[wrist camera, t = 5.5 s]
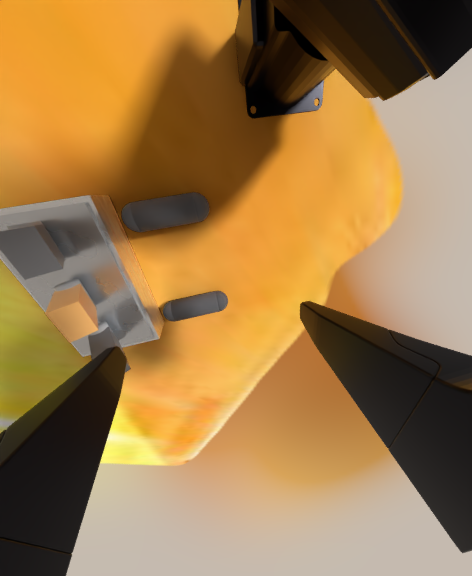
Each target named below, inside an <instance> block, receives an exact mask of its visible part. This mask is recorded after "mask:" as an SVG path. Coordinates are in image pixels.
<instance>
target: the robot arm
mask: <svg viewBox="0 0 472 576" xmlns="http://www.w3.org/2000/svg"><path fill="white" fill-rule="evenodd" d="M238 5H239V15H238V20H237V25H236V29H235V37H236V48H237V59H238V70H239V80H240V83H241V84H242V85H245V90H246V102H247V112H248V115H249V117H251V118H260V117H268V116H276V115H284V114H292V113H300V112H308V111H316V110H318V109H319V108H320V107H321V105H322V99H323V84H324V79H325V78H326V77H327V76H328V75H330V74H331V73H332V72H333V71H334V70H335V69H337V70H338V71H339V72H340V73H341V74H342V75H343V76H344V77H345V78H346V79H347V81H348V82H349V83H350V84H351V85H352V86H353V87H354V88H355V89H356V90H357V91H358V92H359V93H360V94H361V95H362V96H363V97H364V98H376V97H378V96H379V97H380V98H381V99H382V100H383V101H384V100H387V99H389V98H392V97H393V96H395V95H397V94H399V93H401V92H403V91H405V90H407V89H408V88H410V87H411V86H412V85H414V84H416V83H417V82H418V81H421V80H422V79H424V78H426V77H428V76H431V77H432V78H433V79H434V80H435V79H437V78H439V77H440V76H442V75H443V74H444V73H445V72H446V71H447V70H448V69H449V68H450V67H451V66H453V64H455V63H456V62H457V61H458V60H459V59H460V58H461V57H462V56H463V55H464V54H465V53H467V51H469V50H470V49H471V48H472V0H238ZM316 98H318V99H319V105H318V106H315V105H314V100H315V99H316ZM251 106H255V107H256V113H255V114H252V113H251V111H250V108H251ZM300 319H301V321H302V323H303V324H304V326H305V328H306V330H307V332H308V333H309V335H310V337H311V339H312V341H313V342H314V344H315V345H316V347H317V349H318V350H319V352H320V353H321V354H322V356H323V357H324V359H325V360H326V361H327V363H328V364H329V366H330V367H331V368H332V370H333V371H334V373H335V374H336V376H337V377H338V378H339V380H340V381H341V383H342V384H343V386H344V387H345V388H346V390H347V391H348V392H349V394H350V395H351V397H352V398H353V400H354V401H355V402H356V404H357V405H358V407H359V408H360V410H361V411H362V413H363V414H364V415H365V417H366V418H367V420H368V421H369V422H370V424H371V425H372V427H373V428H374V430H375V431H376V432H377V434H378V435H379V437H380V438H381V439H382V441H383V442H384V444H385V445H386V447H387V448H389V451H390V452H391V454H392V455H393V457H394V458H395V459H396V461H397V463H398V464H399V465H400V467H401V468H402V470H403V471H404V472H405V474H406V475H407V476H408V478H409V480H410V481H411V482H412V484H413V485H414V487H415V488H416V489H417V491H418V492H419V494H420V495H421V497H422V498H423V499H424V501H425V502H426V504H427V505H428V507H430V509H431V511H432V512H433V514H434V515H435V516H436V518H437V519H438V521H439V522H440V524H441V525H442V526H443V528H444V529H445V531H446V532H447V533H448V535H449V536H450V538H451V539H452V541H453V542H454V543H455V544H456V546H457V547H458V548H459V550H460V551H461V552H462V553H465V552H468V551H472V356H470V355H467V354H463V353H460V352H457V351H454V350H451V349H447V348H444V347H441V346H437V345H434V344H431V343H428V342H424V341H421V340H418V339H415V338H412V337H409V336H406V335H403V334H401V333H398V332H395V331H392V330H388V329H386V328H384V327H381V326H378V325H375V324H372V323H369V322H367V321H363V320H361V319H358V318H355V317H353V316H350V315H347V314H344V313H341V312H338V311H336V310H333V309H330V308H327V307H325V306H322V305H319V304H316V303H313V302H310V301H306V302H302V303H301V304H300ZM126 364H127V359H126V357H125V355H124V353H123V352H122V350H121V349H120V347H118V346H113V347H109V348H107V349H105V350H104V351H103V352H102V353H100V354H99V355H98V356H97V357H95V358H94V359H93V360H92V361H90V362H89V363H88V364H87V365H85V366H84V367H83V368H82V369H80V370H79V371H78V372H77V373H75V374H74V375H73V376H72V377H70V378H69V379H68V380H67V381H65V382H64V383H63V384H62V385H60V386H59V387H58V388H57V389H55V390H54V391H53V392H52V393H50V394H49V395H48V396H47V397H45V398H44V399H43V400H42V401H40V402H39V403H38V404H37V405H35V406H34V407H33V408H32V409H30V410H29V411H28V412H27V413H25V414H24V415H23V416H22V417H20V418H19V419H18V420H17V421H15V422H14V423H13V424H12V425H10V426H9V427H8V428H7V430H4V431H3V432H2V433H0V576H66V573H67V570H68V567H69V563H70V560H71V557H72V554H71V553H72V552H73V549H74V546H75V543H76V539H77V536H78V533H79V530H80V526H81V523H82V520H83V517H84V513H85V510H86V506H87V503H88V500H89V497H90V494H91V490H92V487H93V483H94V480H95V477H96V473H97V470H98V467H99V464H100V461H101V457H102V454H103V451H104V447H105V444H106V441H107V438H108V434H109V431H110V428H111V424H112V421H113V418H114V415H115V411H116V408H117V405H118V401H119V398H120V394H121V389H122V384H123V379H124V374H125V369H126Z"/></svg>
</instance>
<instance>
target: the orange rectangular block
mask: <svg viewBox="0 0 472 576" xmlns="http://www.w3.org/2000/svg"><path fill="white" fill-rule="evenodd" d="M53 289H54V290H55V292H54V293H53V296H52V298H51V300H50V303H49V305H48V307H47V310H46V312H45V314H46V316H47V317H48V318H49V319H50V320H51V321H52V323H53V324H54V325H55V326H56V327H57V329H58V330H59V331H60V332H61V333H62V335H63V336H64V337H65V338H66V339H67V340H68V342H69V343H71V342H73V341H76V340H78V339H80V338H82V337H84V336H87V335H89V334H91V333H93V332H96V331H98V320H97V311H96V310H97V307H96V305H95V304H94V302H93V301H92V299H91V298H90V296H89V294H88V293H87V291H86V290H85V288H84V287H83V285H82V284H81V282H80V281H79V279H73V280H69V281H66V282H63V283H60V284H58V285H56V286H55V287H53Z"/></svg>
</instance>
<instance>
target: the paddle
mask: <svg viewBox="0 0 472 576" xmlns="http://www.w3.org/2000/svg"><path fill="white" fill-rule="evenodd" d="M88 340H89V346H90V352H91V358H92V360H93V359H94V358H95V357H97V356H98V355H99V354H100V353H102V352H103V351H104V350H105V349H107V348H109V347H113V346H118V347H120V349H121V350H122V352H123V349H122V347H121V344H120V342H119V341H118V339H117V338H116V336H115V335H114V333H113V331H112V330H111V328H110V327H109V325H108V324H107V322H99V323H98V331H96V332H93V333H91V334H89V335H88ZM123 353H124V352H123ZM124 355H125V354H124ZM125 357H126V356H125ZM130 369H131V368H130V366H129V364H128V361H127V364H126V369H125V372H127V371H128V370H130Z"/></svg>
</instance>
